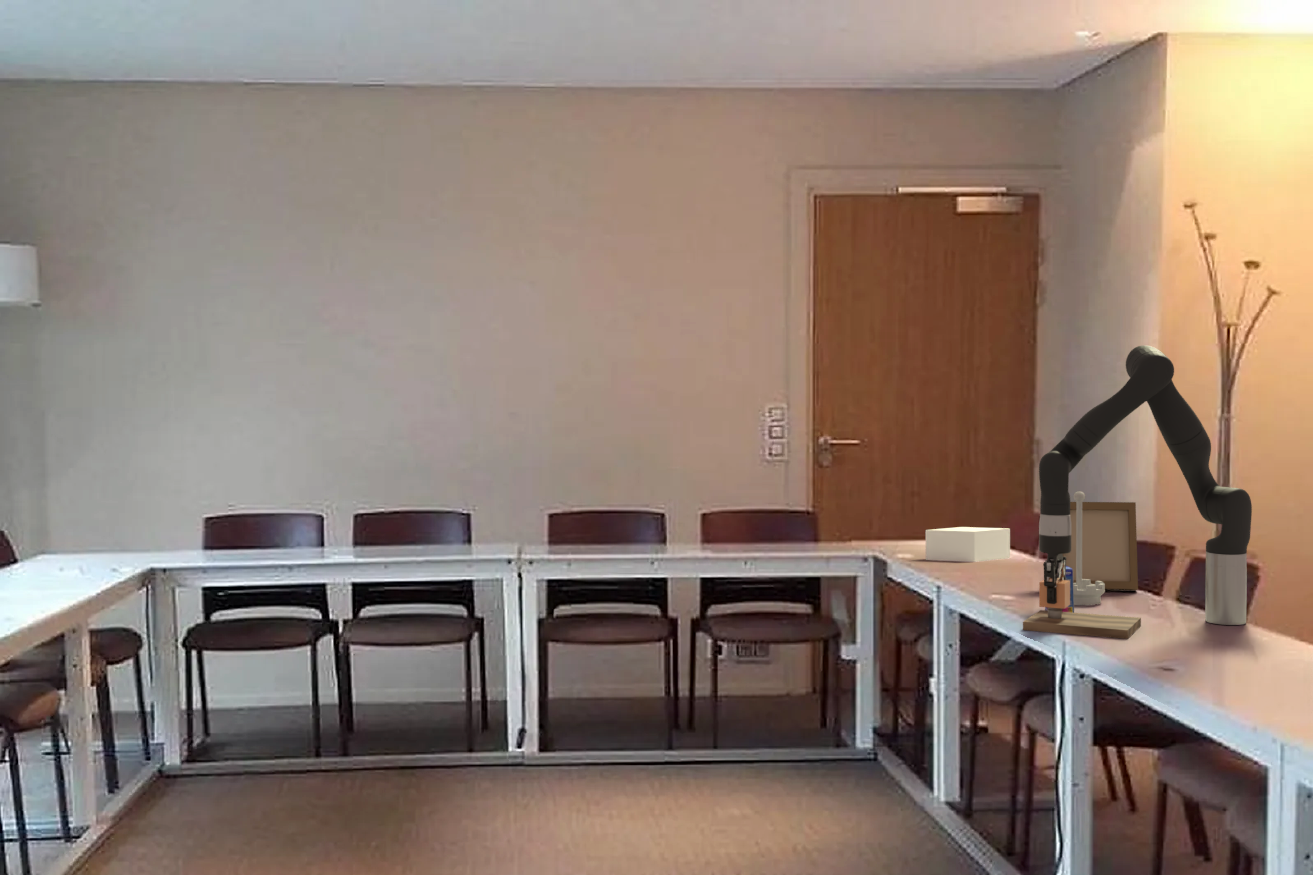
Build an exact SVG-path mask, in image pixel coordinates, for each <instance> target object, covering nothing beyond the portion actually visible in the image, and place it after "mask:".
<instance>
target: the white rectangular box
mask: <svg viewBox="0 0 1313 875" xmlns="http://www.w3.org/2000/svg"><path fill="white" fill-rule="evenodd" d="M1007 559H1011V528H1005V527H1003V528H1002V527H977V526H976V527H975V526H973V527H972V526H971V527H970V526H957V527H945V528H943V527H942V528H936V529H935V528H933V529H925V561H941V562H943V561H945V562H966V563H976V562H977V563H978V562H979V563H980V562H987V561H997V560H998V561H999V560H1007Z"/></svg>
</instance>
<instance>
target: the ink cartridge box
mask: <svg viewBox="0 0 1313 875" xmlns="http://www.w3.org/2000/svg"><path fill="white" fill-rule="evenodd" d="M1061 572H1062V570H1061ZM1065 580H1069V581H1070V605H1069V606H1068V607H1066V608H1065V609H1063V608H1062V612H1073V613H1075V605H1074V587H1073V569H1072V568H1070V567H1068V566H1067V565H1066V579H1065ZM1047 608H1048V607H1044V610H1046V611H1048V610H1047Z"/></svg>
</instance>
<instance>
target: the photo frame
mask: <svg viewBox="0 0 1313 875" xmlns="http://www.w3.org/2000/svg"><path fill="white" fill-rule="evenodd" d="M1136 503H1137V502H1134V501H1132V502H1131V501H1125V502H1124V501H1122V502H1121V501H1117V502H1116V501H1082V579H1089V580H1091V584H1095V581H1102V582H1103V583H1104V584H1105V591H1133V592H1135V591H1137V590H1139V581H1138V580H1139V579H1138V575H1139V574H1138V542H1137V539H1138V538H1137V536H1138V535H1137V509H1136V508H1137V506H1136ZM1070 517H1071V552H1070V553H1066V554H1063V557H1066V565H1067V566H1068V567H1070V568H1072V569H1073V583H1076V501H1070Z"/></svg>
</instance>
